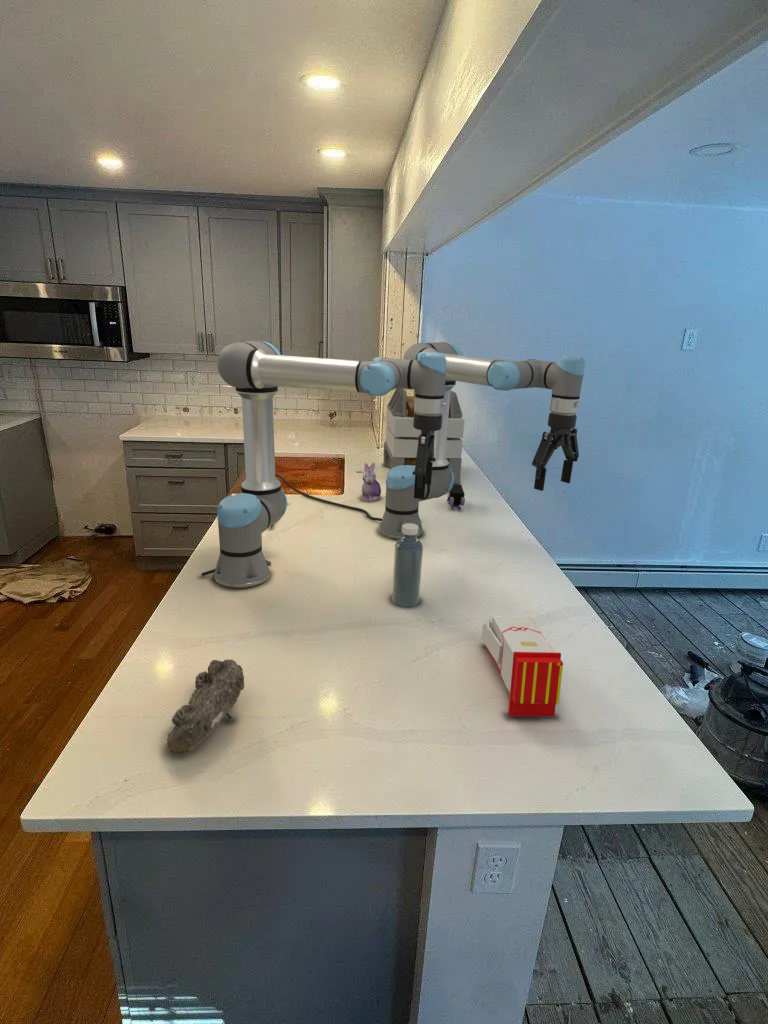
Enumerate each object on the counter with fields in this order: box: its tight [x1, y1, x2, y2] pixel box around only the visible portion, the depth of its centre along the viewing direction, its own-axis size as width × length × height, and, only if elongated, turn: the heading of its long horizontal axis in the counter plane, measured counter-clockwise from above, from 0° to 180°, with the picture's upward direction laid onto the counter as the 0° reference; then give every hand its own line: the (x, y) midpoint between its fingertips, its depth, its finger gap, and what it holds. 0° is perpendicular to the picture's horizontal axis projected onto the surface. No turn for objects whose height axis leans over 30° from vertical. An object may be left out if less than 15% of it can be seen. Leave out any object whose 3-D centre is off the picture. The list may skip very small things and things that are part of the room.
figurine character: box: [446, 483, 466, 510], centre depth 230 cm, size 7×8×15 cm
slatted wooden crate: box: [383, 388, 465, 484], centre depth 268 cm, size 34×33×41 cm
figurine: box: [360, 462, 382, 502], centre depth 233 cm, size 9×10×15 cm
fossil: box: [166, 658, 245, 754], centre depth 106 cm, size 22×10×15 cm
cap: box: [402, 523, 418, 535], centre depth 148 cm, size 4×4×2 cm
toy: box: [481, 615, 564, 718], centre depth 123 cm, size 12×13×30 cm
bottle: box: [391, 534, 424, 608], centre depth 151 cm, size 7×7×21 cm
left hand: (422, 491), depth 156 cm, fingers open, 13 cm apart
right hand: (552, 485), depth 166 cm, fingers open, 13 cm apart
